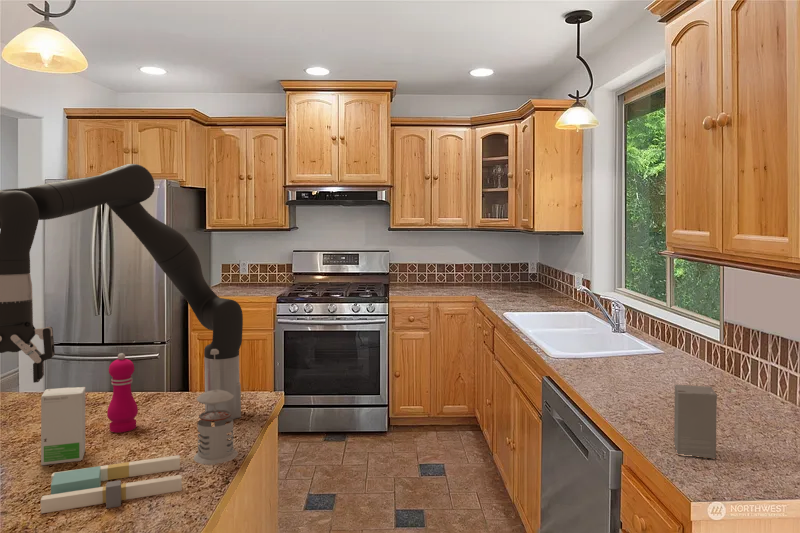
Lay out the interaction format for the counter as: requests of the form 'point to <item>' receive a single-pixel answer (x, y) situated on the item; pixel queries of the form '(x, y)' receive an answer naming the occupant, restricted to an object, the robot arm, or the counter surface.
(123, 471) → the track
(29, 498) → the counter surface
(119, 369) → the pepper mill
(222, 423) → the french press
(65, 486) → the block
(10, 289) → the robot arm
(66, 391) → the skincare box
